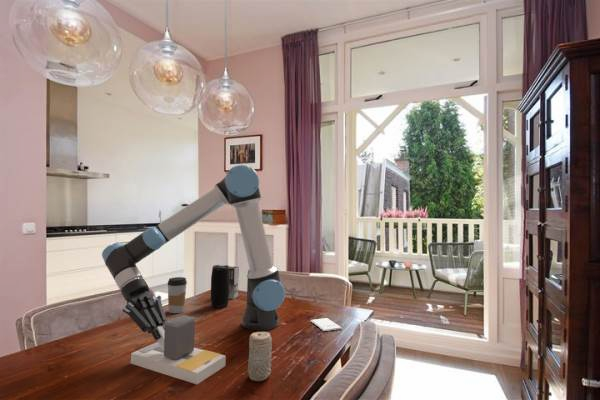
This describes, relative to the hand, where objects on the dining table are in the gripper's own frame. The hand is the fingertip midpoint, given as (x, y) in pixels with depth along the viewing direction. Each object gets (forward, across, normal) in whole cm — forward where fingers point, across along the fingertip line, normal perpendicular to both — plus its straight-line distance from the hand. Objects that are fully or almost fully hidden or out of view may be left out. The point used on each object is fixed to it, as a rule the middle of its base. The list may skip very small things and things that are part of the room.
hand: (167, 346), depth 99 cm
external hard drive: (+26, -55, +17) cm, 63 cm away
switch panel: (+6, -1, -1) cm, 6 cm away
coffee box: (-19, -71, -27) cm, 78 cm away
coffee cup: (-22, -38, -30) cm, 53 cm away
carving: (+24, -6, +17) cm, 30 cm away
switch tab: (+4, -1, +1) cm, 4 cm away
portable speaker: (-14, -55, -22) cm, 61 cm away
